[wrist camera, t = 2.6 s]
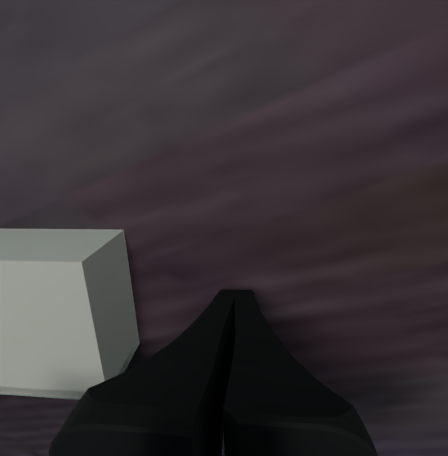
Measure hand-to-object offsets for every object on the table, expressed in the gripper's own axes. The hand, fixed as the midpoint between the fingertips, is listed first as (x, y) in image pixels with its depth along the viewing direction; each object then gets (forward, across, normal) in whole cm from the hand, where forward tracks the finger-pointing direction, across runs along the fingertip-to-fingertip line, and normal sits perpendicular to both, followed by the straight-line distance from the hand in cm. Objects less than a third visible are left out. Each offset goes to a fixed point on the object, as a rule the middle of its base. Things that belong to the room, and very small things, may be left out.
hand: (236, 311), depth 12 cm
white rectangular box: (+2, +9, 0) cm, 9 cm away
